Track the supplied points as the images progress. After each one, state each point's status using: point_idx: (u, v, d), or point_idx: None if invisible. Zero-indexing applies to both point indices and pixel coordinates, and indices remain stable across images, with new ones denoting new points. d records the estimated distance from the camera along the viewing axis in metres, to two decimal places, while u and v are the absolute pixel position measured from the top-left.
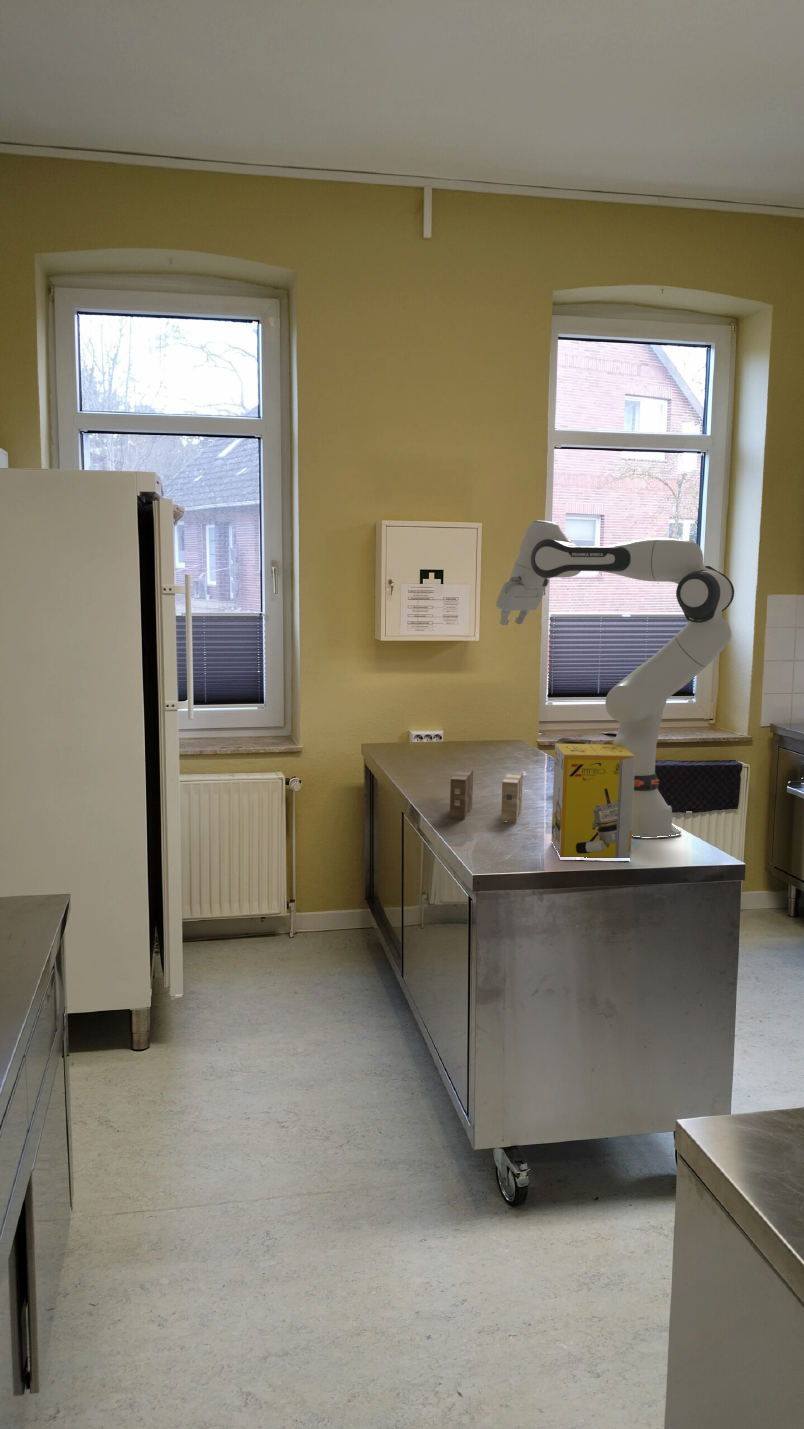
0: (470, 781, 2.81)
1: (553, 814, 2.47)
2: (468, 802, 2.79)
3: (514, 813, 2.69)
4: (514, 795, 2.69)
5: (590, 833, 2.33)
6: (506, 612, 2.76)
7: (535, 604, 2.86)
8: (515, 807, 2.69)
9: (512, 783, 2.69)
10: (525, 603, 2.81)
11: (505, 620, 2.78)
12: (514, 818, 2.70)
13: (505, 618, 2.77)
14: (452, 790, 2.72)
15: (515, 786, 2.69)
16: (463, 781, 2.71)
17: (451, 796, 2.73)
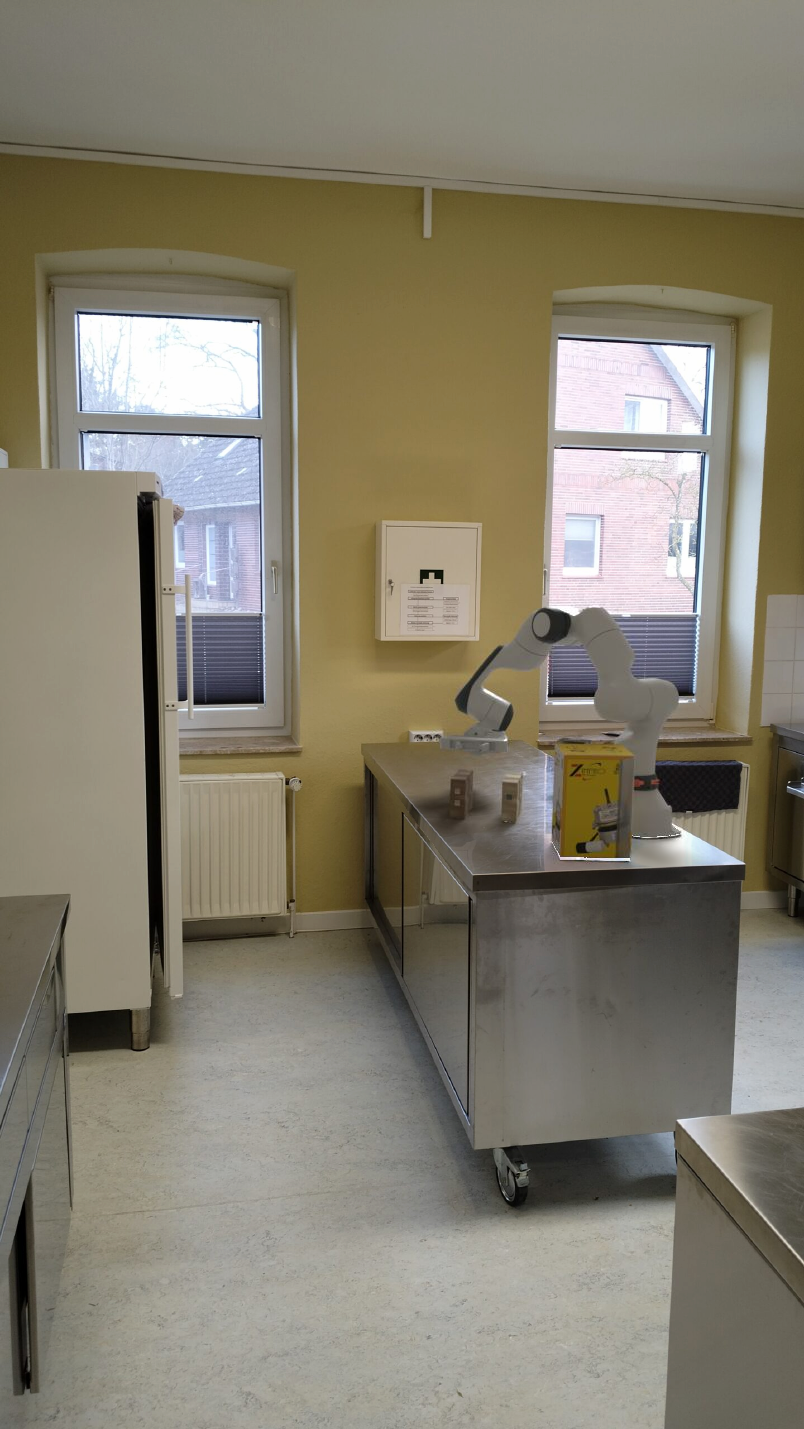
0: (470, 781, 2.81)
1: (553, 814, 2.47)
2: (468, 802, 2.79)
3: (514, 813, 2.69)
4: (514, 795, 2.69)
5: (590, 833, 2.33)
6: (455, 742, 2.96)
7: (499, 739, 2.96)
8: (515, 807, 2.69)
9: (512, 783, 2.69)
10: (476, 738, 2.98)
11: (458, 744, 2.94)
12: (514, 818, 2.70)
13: (457, 744, 2.94)
14: (452, 790, 2.72)
15: (515, 786, 2.69)
16: (463, 781, 2.71)
17: (451, 796, 2.73)
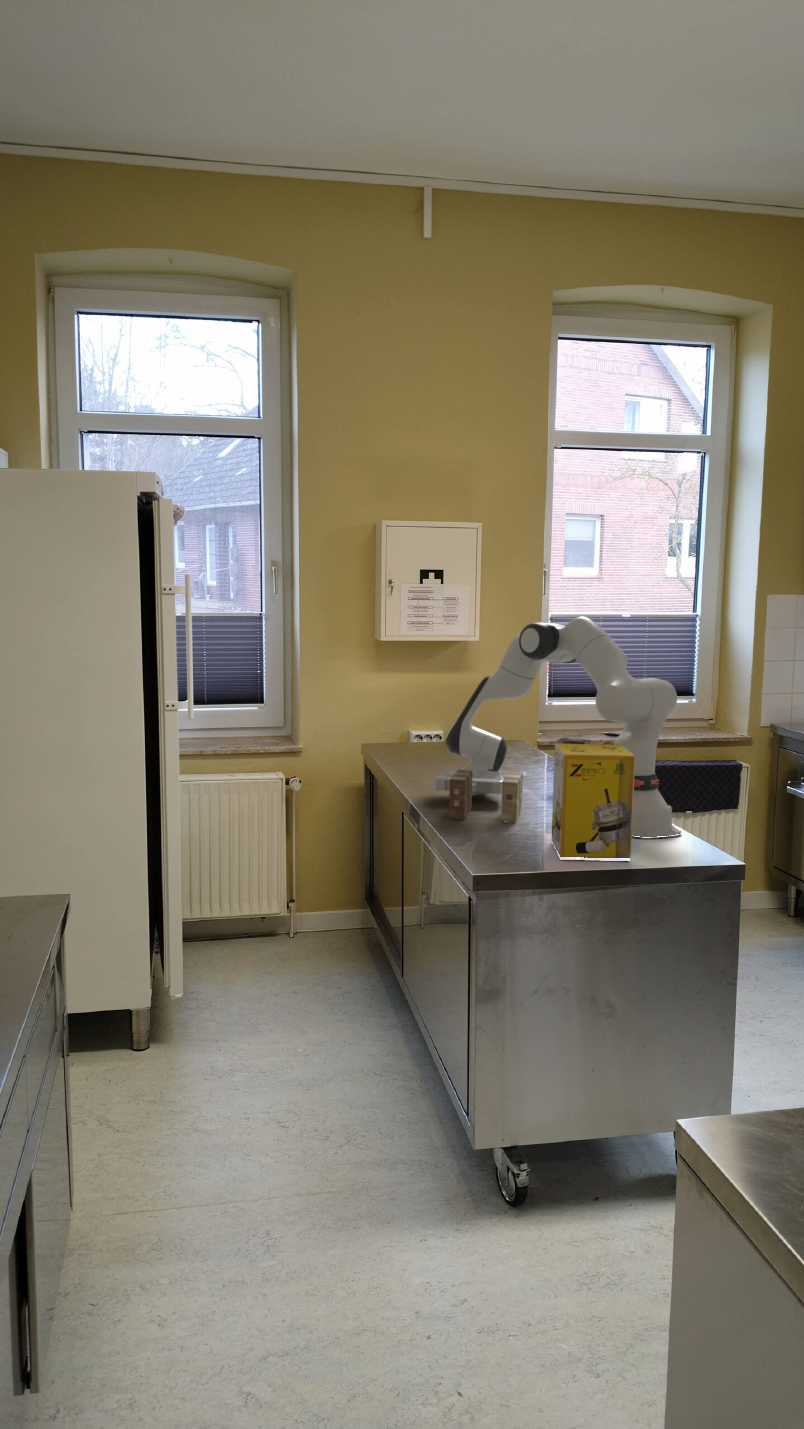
0: (469, 781, 2.80)
1: (553, 814, 2.47)
2: (467, 802, 2.78)
3: (514, 813, 2.69)
4: (514, 795, 2.69)
5: (590, 833, 2.33)
6: None
7: (495, 780, 2.89)
8: (515, 807, 2.69)
9: (512, 783, 2.69)
10: (472, 778, 2.91)
11: None
12: (514, 818, 2.70)
13: None
14: (451, 790, 2.71)
15: (515, 786, 2.69)
16: (462, 781, 2.70)
17: (450, 796, 2.72)
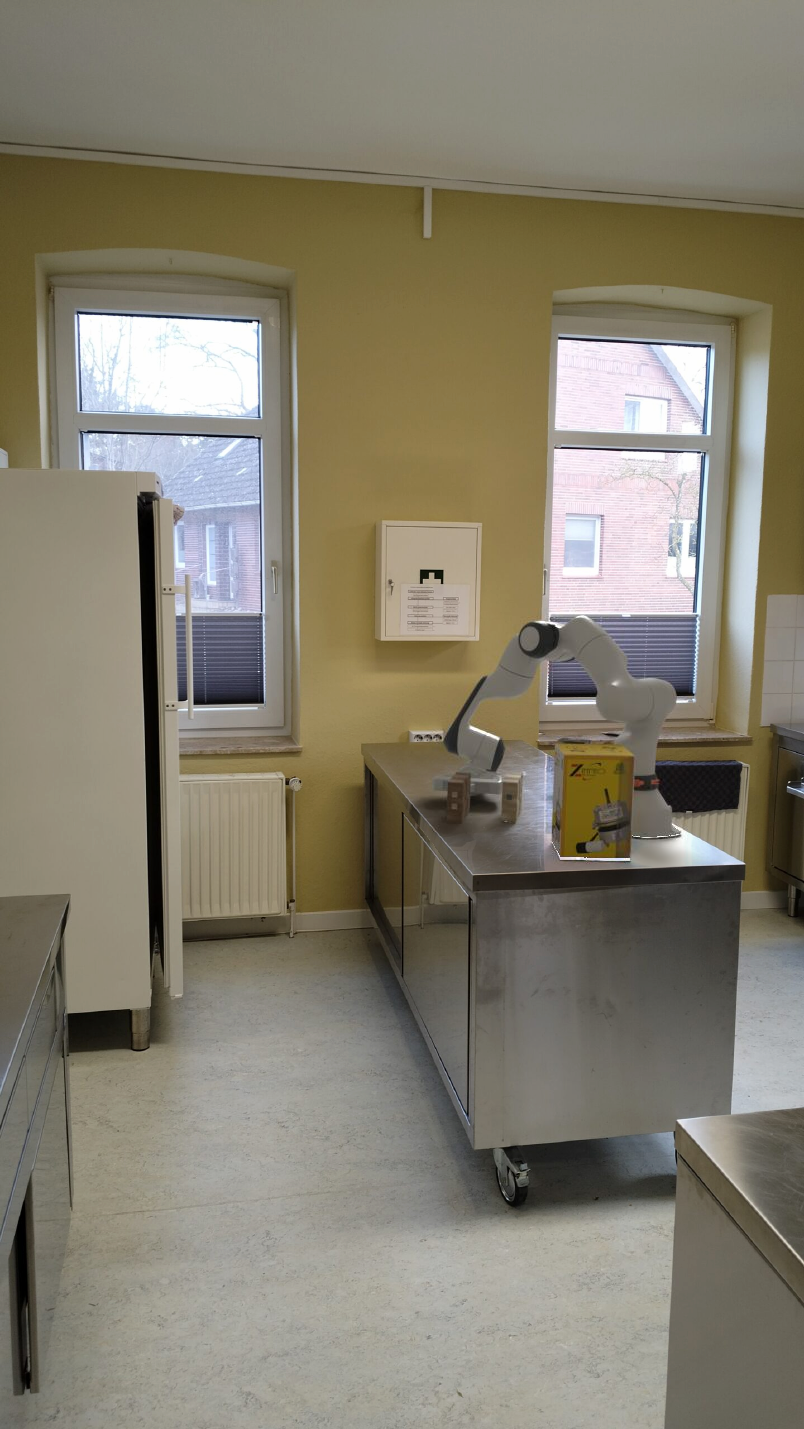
0: (467, 784, 2.77)
1: (553, 814, 2.47)
2: (465, 805, 2.75)
3: (514, 813, 2.69)
4: (514, 795, 2.69)
5: (590, 833, 2.33)
6: None
7: (493, 780, 2.88)
8: (515, 807, 2.69)
9: (512, 783, 2.69)
10: (470, 779, 2.90)
11: None
12: (514, 818, 2.70)
13: None
14: (449, 793, 2.68)
15: (515, 786, 2.68)
16: (460, 784, 2.67)
17: (448, 799, 2.68)
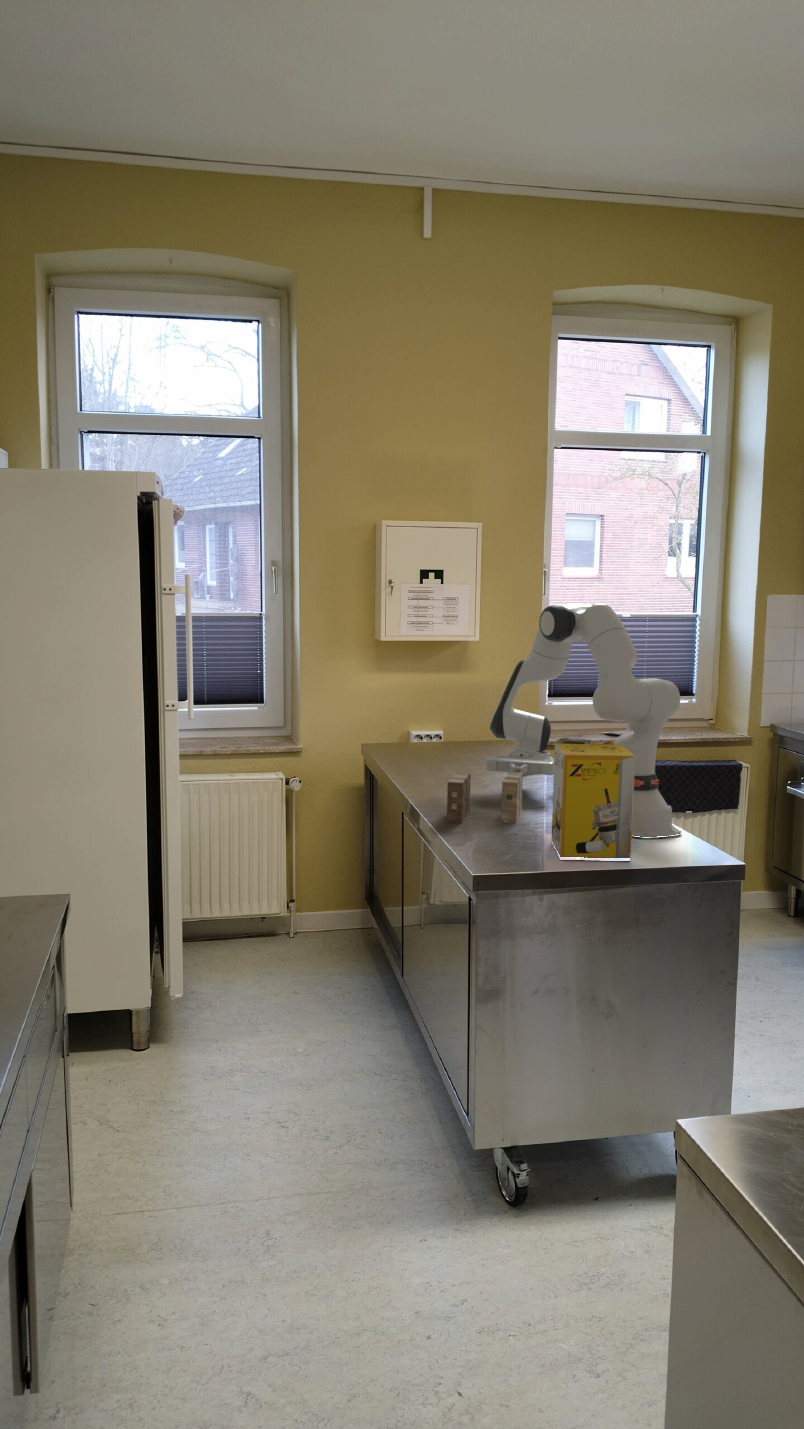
0: (467, 784, 2.77)
1: (553, 814, 2.47)
2: (465, 805, 2.75)
3: (514, 813, 2.69)
4: (514, 795, 2.69)
5: (590, 833, 2.33)
6: (510, 765, 2.94)
7: (545, 761, 2.94)
8: (515, 807, 2.69)
9: (512, 783, 2.69)
10: (522, 760, 2.96)
11: (512, 767, 2.91)
12: (514, 818, 2.70)
13: (512, 767, 2.92)
14: (449, 793, 2.68)
15: (515, 786, 2.68)
16: (460, 784, 2.67)
17: (448, 799, 2.68)
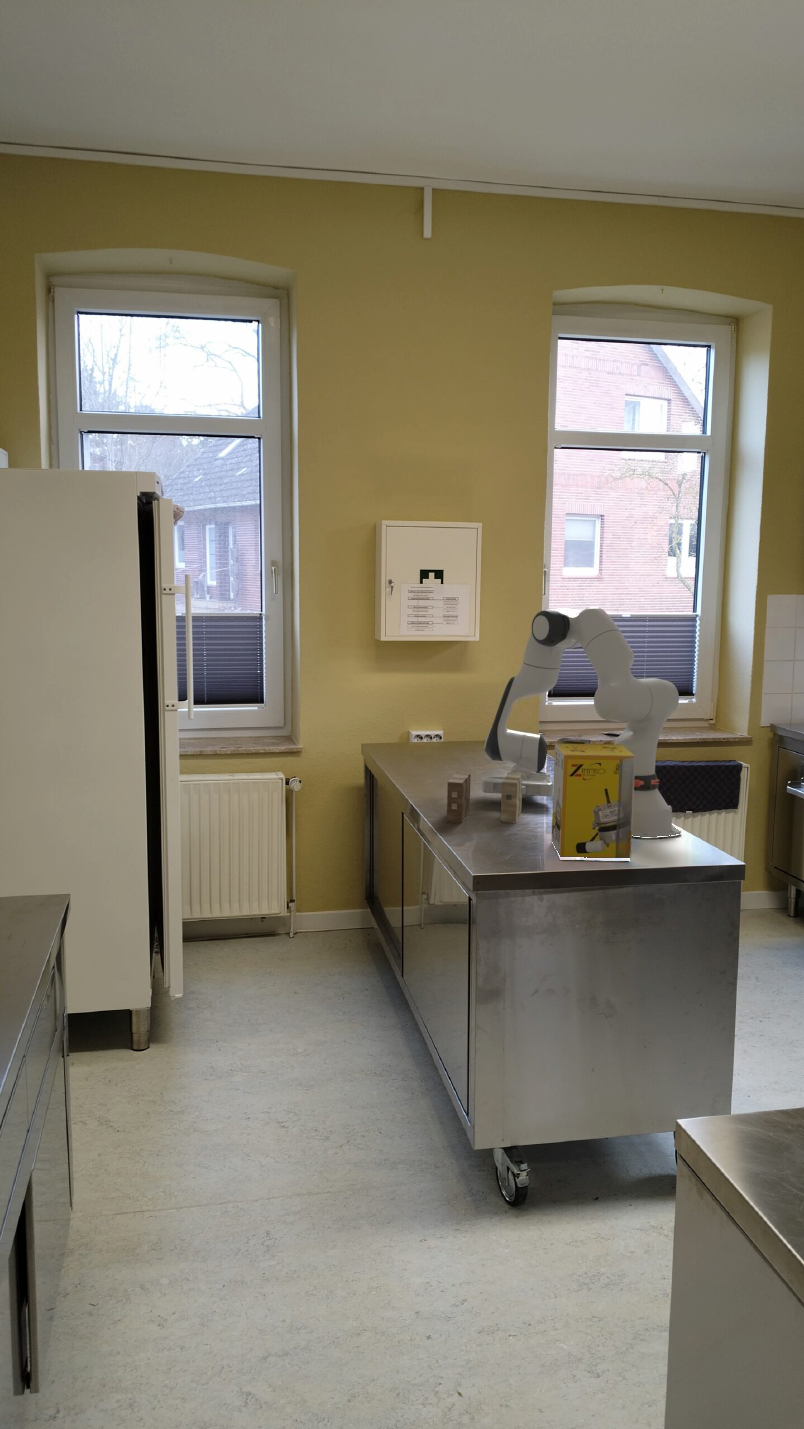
0: (467, 784, 2.77)
1: (553, 814, 2.47)
2: (465, 805, 2.75)
3: (514, 813, 2.69)
4: (514, 795, 2.68)
5: (590, 833, 2.33)
6: None
7: (544, 782, 2.87)
8: (515, 807, 2.69)
9: (512, 783, 2.68)
10: None
11: None
12: (514, 818, 2.69)
13: None
14: (449, 793, 2.68)
15: (515, 786, 2.68)
16: (460, 784, 2.67)
17: (448, 799, 2.68)
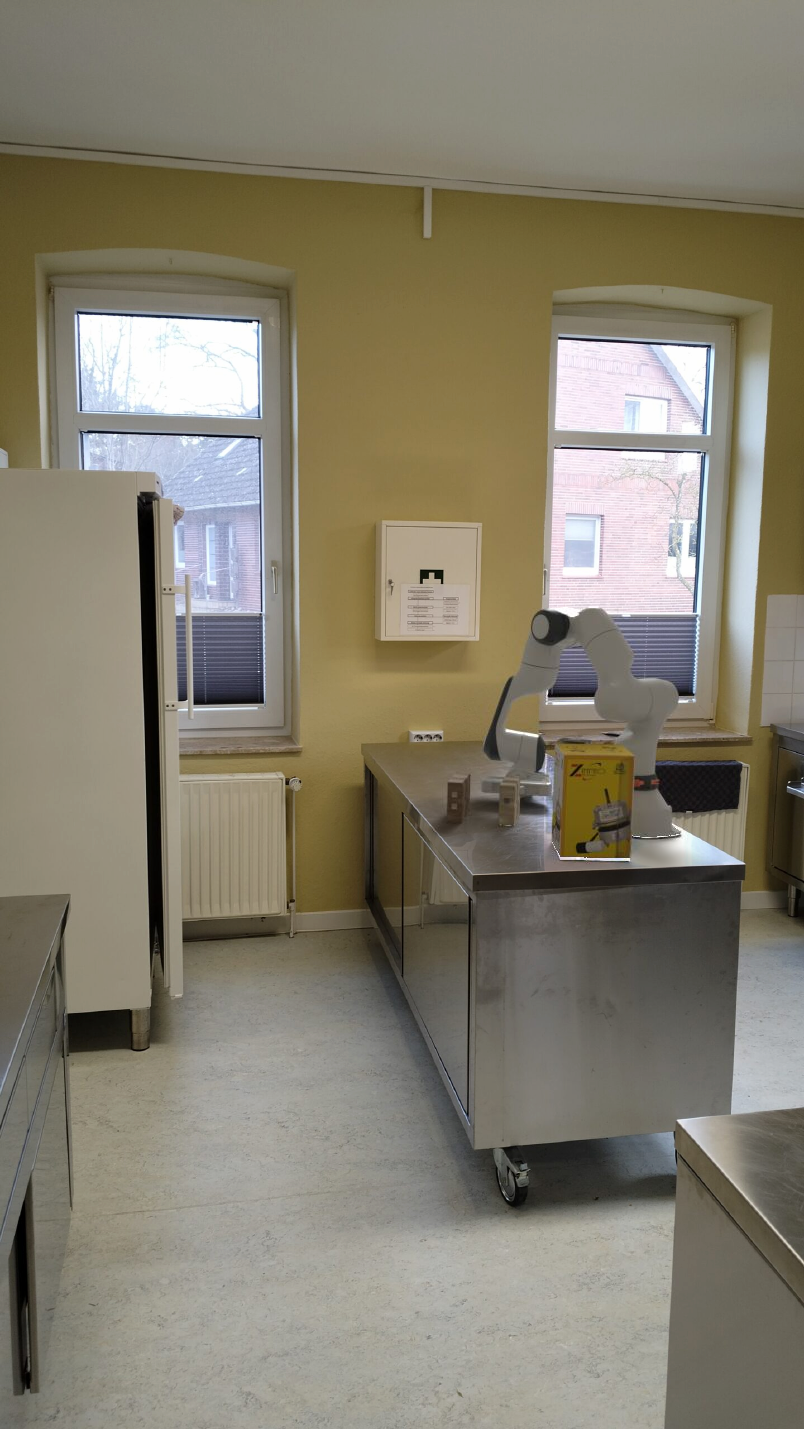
0: (467, 784, 2.77)
1: (553, 814, 2.47)
2: (465, 805, 2.75)
3: (512, 817, 2.65)
4: (512, 798, 2.65)
5: (590, 833, 2.33)
6: None
7: (543, 782, 2.86)
8: (513, 811, 2.65)
9: (510, 786, 2.64)
10: None
11: None
12: (512, 822, 2.65)
13: None
14: (449, 793, 2.68)
15: (513, 789, 2.64)
16: (460, 784, 2.67)
17: (448, 799, 2.68)
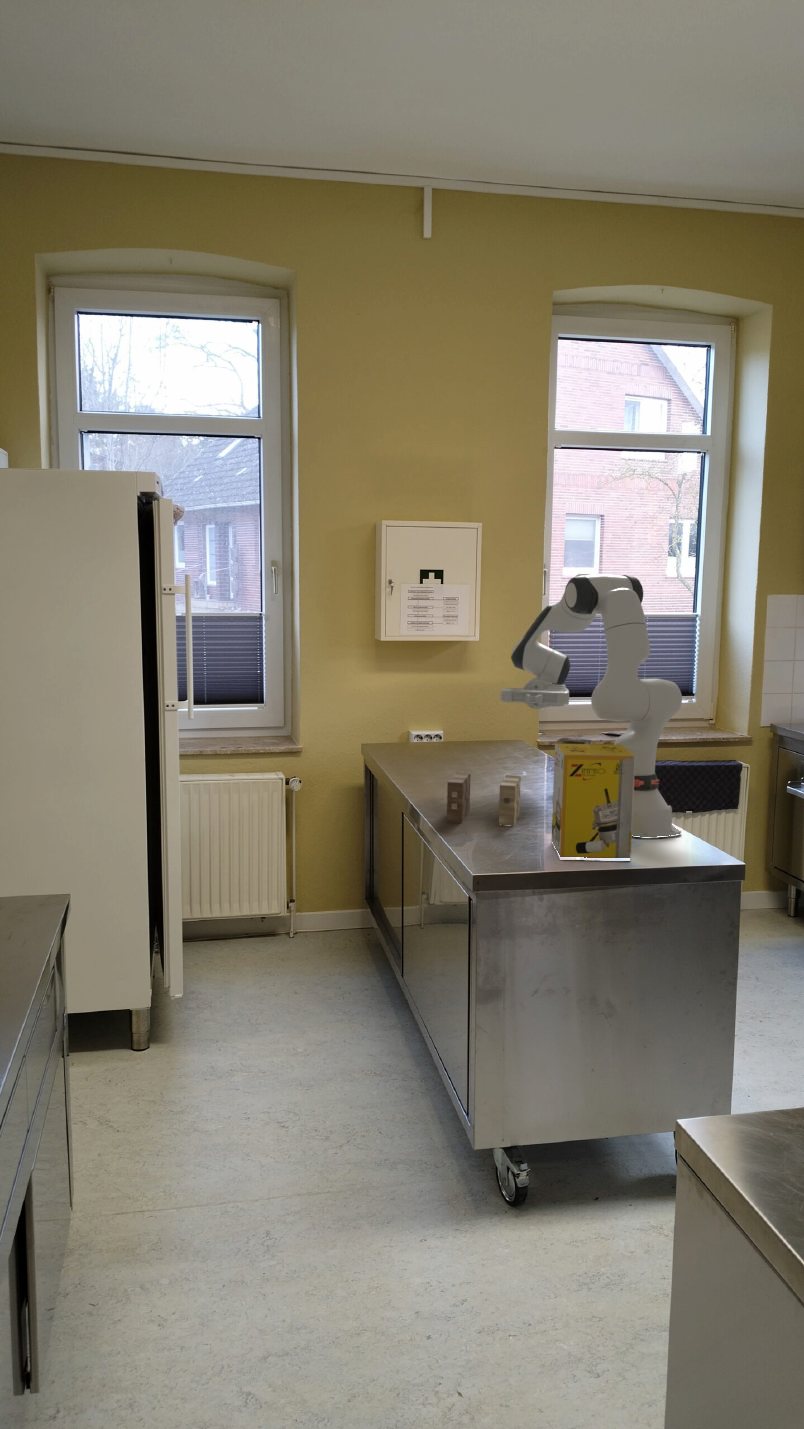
0: (467, 784, 2.77)
1: (553, 814, 2.47)
2: (465, 805, 2.75)
3: (512, 817, 2.65)
4: (512, 798, 2.65)
5: (590, 833, 2.33)
6: None
7: (560, 691, 2.97)
8: (513, 811, 2.65)
9: (510, 786, 2.64)
10: (537, 690, 2.99)
11: (528, 696, 2.95)
12: (512, 822, 2.65)
13: (527, 696, 2.95)
14: (449, 793, 2.68)
15: (513, 789, 2.64)
16: (460, 784, 2.67)
17: (448, 799, 2.68)
